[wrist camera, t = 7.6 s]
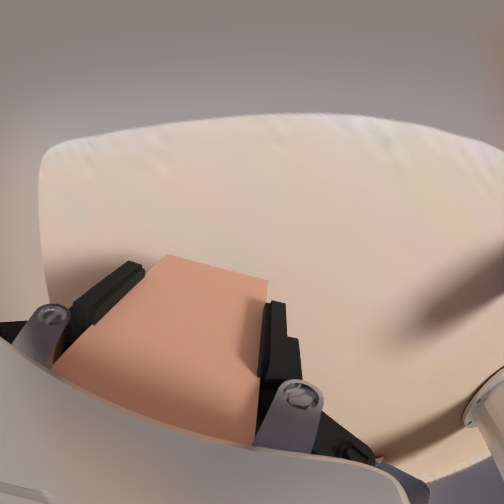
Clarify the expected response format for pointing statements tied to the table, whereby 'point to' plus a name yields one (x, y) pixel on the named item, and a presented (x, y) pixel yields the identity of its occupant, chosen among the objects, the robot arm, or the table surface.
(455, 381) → the table surface
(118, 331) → the domino
